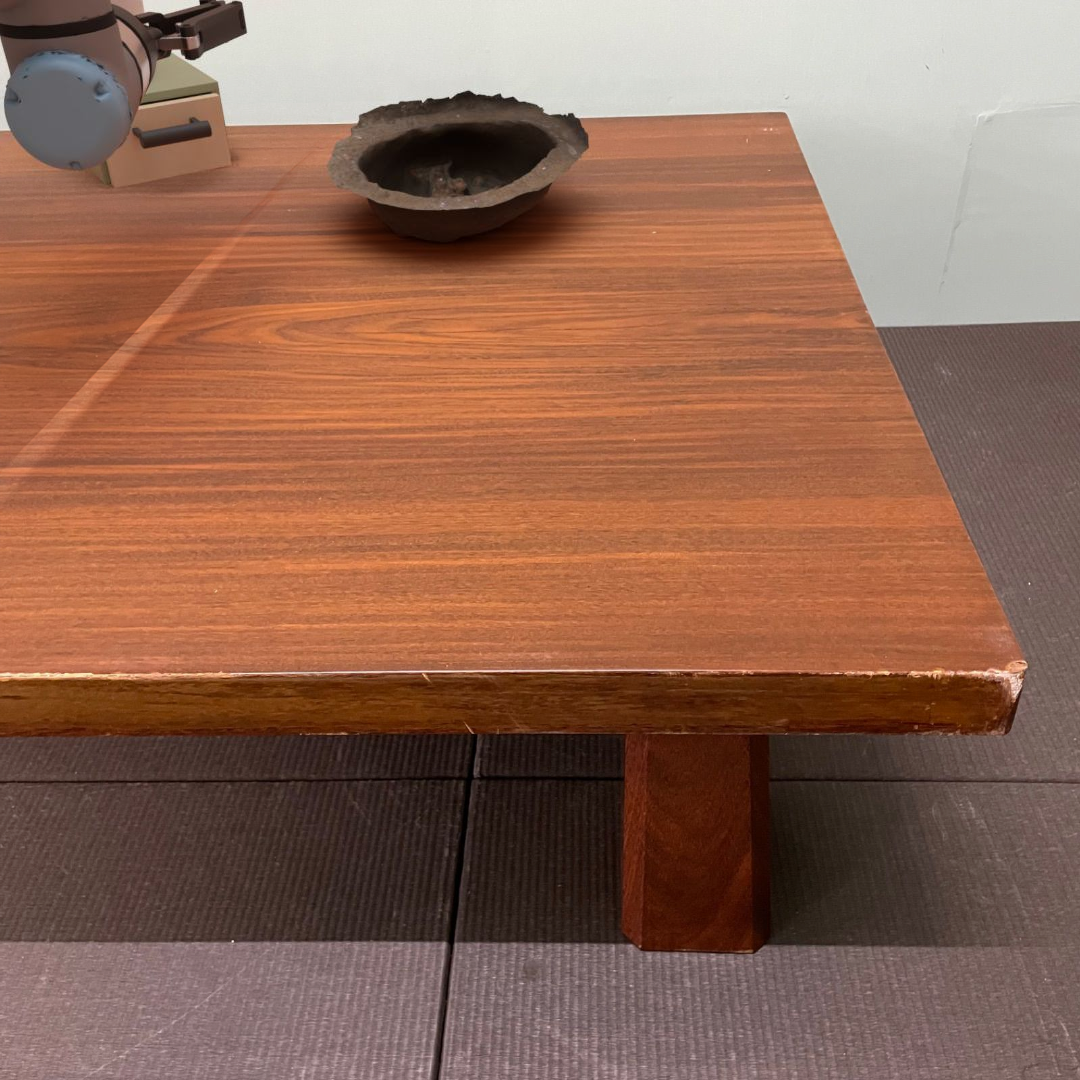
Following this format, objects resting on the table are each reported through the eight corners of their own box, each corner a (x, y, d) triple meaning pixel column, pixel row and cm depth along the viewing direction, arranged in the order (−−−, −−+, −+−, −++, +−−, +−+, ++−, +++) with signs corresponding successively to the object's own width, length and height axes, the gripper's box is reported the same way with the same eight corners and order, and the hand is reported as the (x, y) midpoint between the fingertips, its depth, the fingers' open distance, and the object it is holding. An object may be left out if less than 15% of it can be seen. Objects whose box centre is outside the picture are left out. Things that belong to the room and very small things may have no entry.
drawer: (247, 182, 123) (234, 105, 118) (129, 207, 118) (110, 127, 113) (189, 137, 136) (176, 66, 132) (80, 157, 131) (62, 84, 126)
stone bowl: (532, 160, 128) (533, 74, 123) (621, 258, 110) (628, 162, 105) (310, 187, 122) (299, 98, 116) (366, 296, 104) (357, 196, 98)
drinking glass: (98, 70, 127) (74, -31, 121) (160, 66, 128) (140, -34, 122) (91, 86, 122) (66, -19, 116) (156, 81, 123) (135, -23, 117)
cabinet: (234, 174, 128) (217, 81, 122) (108, 199, 122) (85, 103, 117) (188, 138, 139) (171, 52, 133) (71, 160, 133) (48, 71, 128)
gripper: (-58, 126, 89) (4, 60, 106) (274, 103, 91) (282, 42, 108) (-92, 21, 84) (-21, -31, 101) (258, -1, 87) (268, -48, 104)
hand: (135, 6), depth 105 cm, fingers open, 13 cm apart
